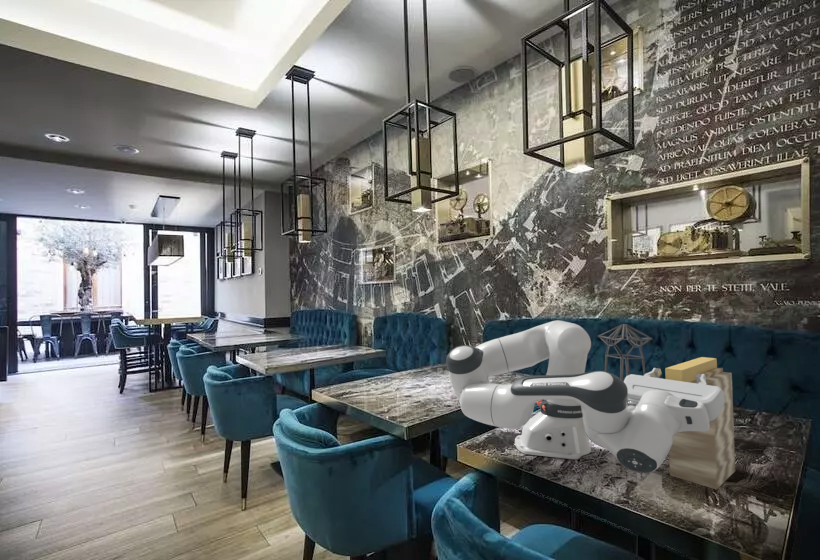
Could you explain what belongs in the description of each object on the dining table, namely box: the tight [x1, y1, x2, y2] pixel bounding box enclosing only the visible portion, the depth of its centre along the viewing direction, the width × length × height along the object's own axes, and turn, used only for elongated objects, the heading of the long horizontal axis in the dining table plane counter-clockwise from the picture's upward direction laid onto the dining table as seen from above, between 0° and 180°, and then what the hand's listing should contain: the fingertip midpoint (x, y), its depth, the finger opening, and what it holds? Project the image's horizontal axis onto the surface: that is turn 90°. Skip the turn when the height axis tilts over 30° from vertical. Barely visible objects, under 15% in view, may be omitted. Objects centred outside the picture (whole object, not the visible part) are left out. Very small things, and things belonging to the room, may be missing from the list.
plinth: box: [668, 367, 736, 490], centre depth 107 cm, size 16×10×27 cm, turn 128°
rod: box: [664, 356, 718, 382], centre depth 105 cm, size 26×4×4 cm, turn 128°
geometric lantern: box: [597, 323, 653, 406], centre depth 165 cm, size 16×16×35 cm
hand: (679, 372), depth 99 cm, fingers open, 8 cm apart
